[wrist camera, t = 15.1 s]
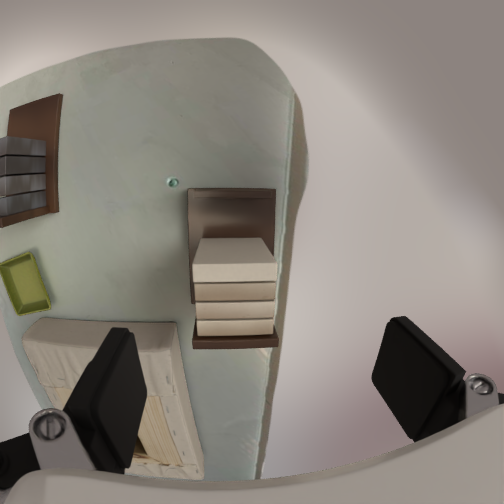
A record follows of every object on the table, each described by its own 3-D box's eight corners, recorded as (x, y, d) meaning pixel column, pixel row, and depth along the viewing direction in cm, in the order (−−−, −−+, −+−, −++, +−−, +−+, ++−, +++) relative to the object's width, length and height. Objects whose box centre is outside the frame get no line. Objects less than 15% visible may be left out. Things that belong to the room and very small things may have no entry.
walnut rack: (13, 110, 25) (-34, 100, 14) (63, 94, 26) (16, 74, 15) (11, 216, 29) (-38, 231, 19) (59, 211, 30) (8, 227, 20)
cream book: (200, 238, 32) (192, 264, 23) (261, 237, 33) (277, 262, 23) (201, 251, 33) (193, 282, 23) (261, 250, 33) (276, 281, 24)
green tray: (23, 311, 33) (16, 316, 31) (4, 260, 31) (-4, 264, 29) (58, 303, 33) (51, 309, 31) (37, 247, 31) (29, 251, 29)
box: (206, 453, 44) (178, 317, 35) (206, 483, 37) (168, 351, 28) (101, 443, 42) (41, 314, 34) (92, 469, 35) (15, 338, 26)
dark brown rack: (188, 188, 32) (172, 193, 21) (274, 188, 33) (299, 194, 22) (192, 300, 35) (182, 349, 25) (270, 299, 36) (288, 346, 26)
